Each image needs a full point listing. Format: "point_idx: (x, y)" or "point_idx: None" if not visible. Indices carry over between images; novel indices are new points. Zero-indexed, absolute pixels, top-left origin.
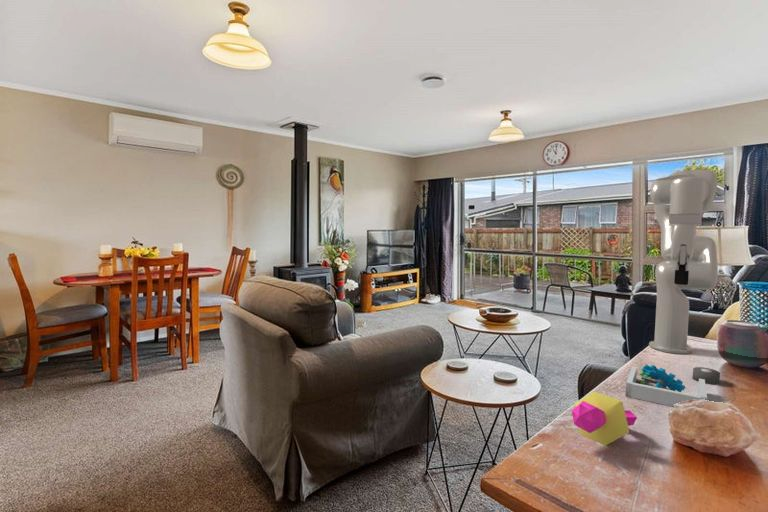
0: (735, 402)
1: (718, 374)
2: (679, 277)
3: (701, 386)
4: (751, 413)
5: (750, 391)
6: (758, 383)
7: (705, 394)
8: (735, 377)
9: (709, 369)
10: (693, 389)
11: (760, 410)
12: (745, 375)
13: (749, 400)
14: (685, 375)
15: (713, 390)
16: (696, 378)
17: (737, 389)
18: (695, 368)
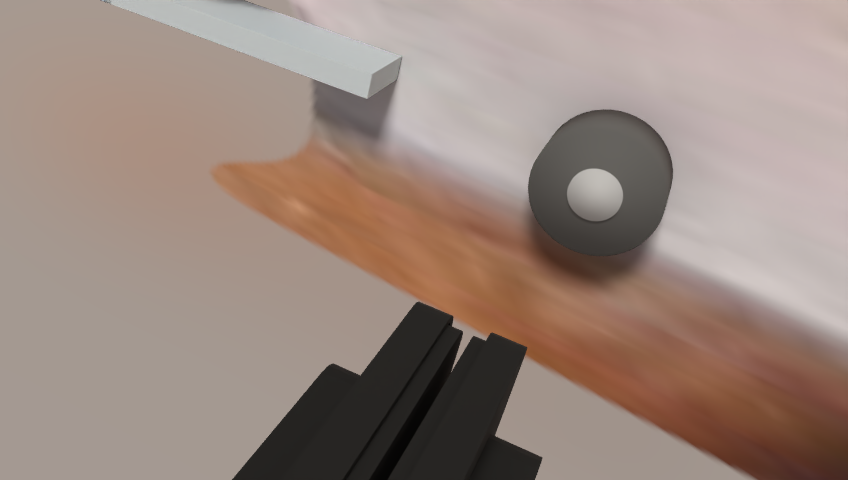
0: (324, 167)
1: (545, 230)
2: (293, 423)
3: (246, 36)
4: (230, 170)
5: (500, 306)
6: (641, 408)
7: (143, 11)
8: (716, 355)
9: (632, 225)
10: (421, 42)
11: (278, 221)
12: (772, 425)
13: (375, 239)
14: (669, 88)
15: (447, 140)
16: (577, 119)
17: (508, 263)
18: (625, 148)
